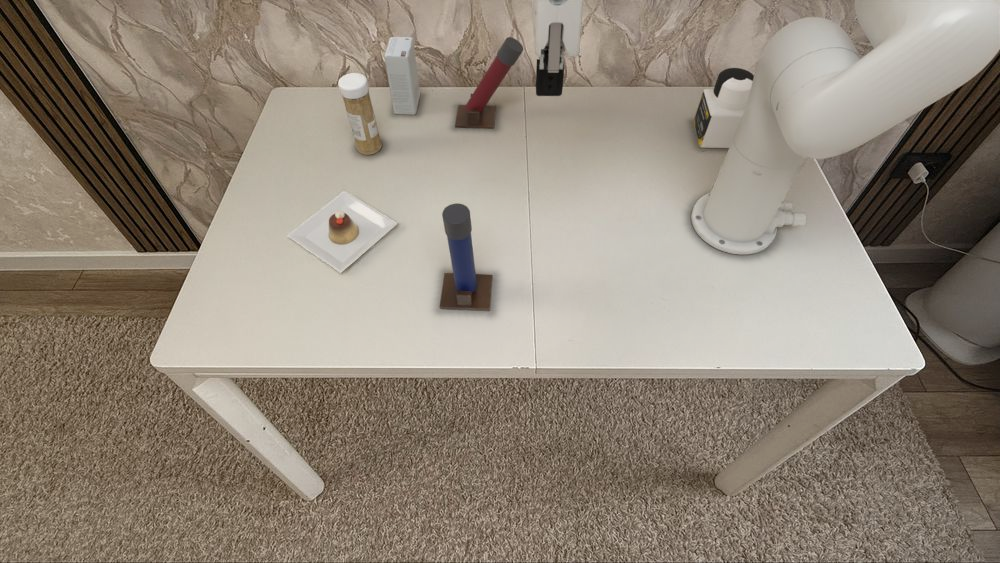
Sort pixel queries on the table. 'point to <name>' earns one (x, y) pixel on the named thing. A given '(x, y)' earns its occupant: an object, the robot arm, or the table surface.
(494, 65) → the marker far
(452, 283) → the stand near
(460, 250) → the marker
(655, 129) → the table surface
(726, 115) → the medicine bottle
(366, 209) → the dessert
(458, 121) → the stand far
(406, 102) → the cosmetic box
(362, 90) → the sprinkles bottle
